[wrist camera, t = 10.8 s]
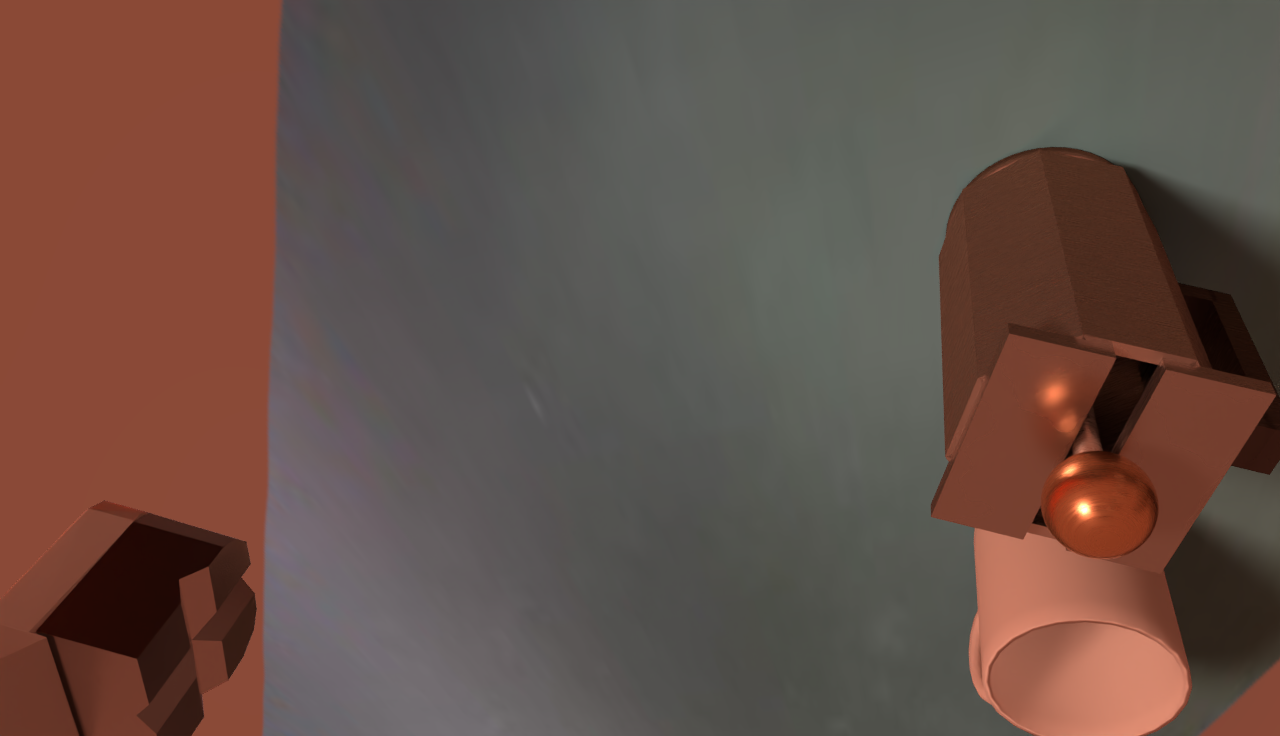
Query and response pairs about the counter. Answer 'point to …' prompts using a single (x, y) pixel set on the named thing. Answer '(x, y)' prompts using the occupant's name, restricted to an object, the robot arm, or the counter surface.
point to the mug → (1074, 641)
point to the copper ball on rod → (1098, 499)
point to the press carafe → (1085, 352)
